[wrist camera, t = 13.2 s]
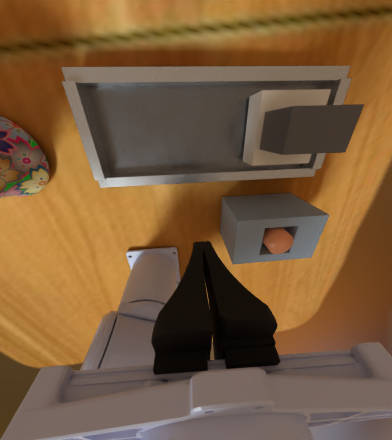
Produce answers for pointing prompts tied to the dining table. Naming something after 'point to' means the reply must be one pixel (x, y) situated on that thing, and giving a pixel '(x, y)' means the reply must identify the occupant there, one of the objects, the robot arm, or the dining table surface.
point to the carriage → (296, 126)
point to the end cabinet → (269, 226)
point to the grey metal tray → (183, 120)
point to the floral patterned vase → (20, 162)
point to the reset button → (277, 240)
